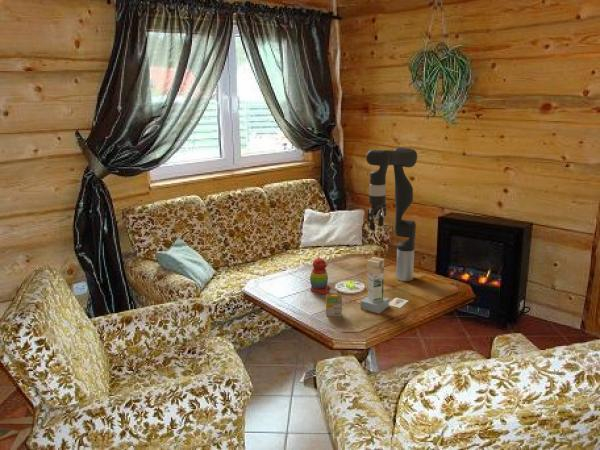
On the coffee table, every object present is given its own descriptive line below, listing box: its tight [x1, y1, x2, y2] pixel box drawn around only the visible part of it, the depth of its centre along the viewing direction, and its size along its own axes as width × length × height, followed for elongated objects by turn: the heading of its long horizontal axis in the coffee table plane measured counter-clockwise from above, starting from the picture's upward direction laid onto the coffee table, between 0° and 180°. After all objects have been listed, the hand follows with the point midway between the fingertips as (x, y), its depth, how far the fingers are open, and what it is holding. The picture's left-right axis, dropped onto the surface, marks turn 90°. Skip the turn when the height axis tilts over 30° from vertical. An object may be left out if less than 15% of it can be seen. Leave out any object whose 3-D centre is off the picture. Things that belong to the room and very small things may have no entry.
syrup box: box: [367, 271, 385, 302], centre depth 242 cm, size 6×6×14 cm
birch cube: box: [366, 256, 385, 275], centre depth 238 cm, size 6×6×6 cm
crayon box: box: [325, 292, 343, 317], centre depth 236 cm, size 7×3×12 cm, turn 92°
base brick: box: [360, 295, 390, 314], centre depth 244 cm, size 10×10×4 cm
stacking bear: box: [309, 256, 331, 295], centre depth 264 cm, size 11×10×18 cm
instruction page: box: [389, 297, 409, 309], centre depth 249 cm, size 10×7×1 cm
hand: (376, 227), depth 234 cm, fingers open, 8 cm apart
